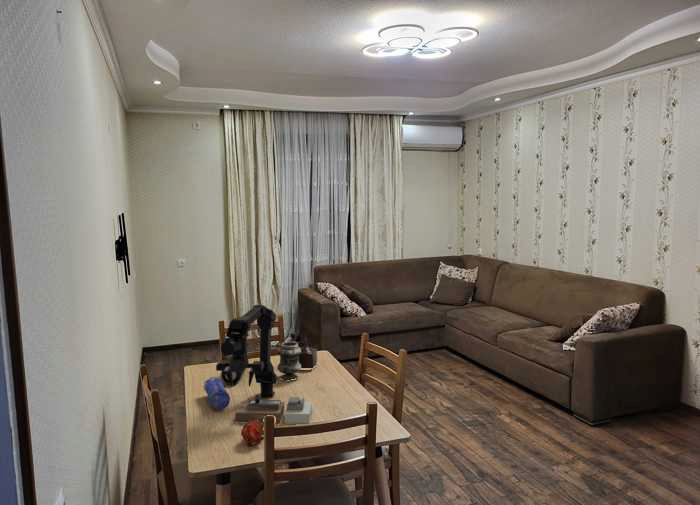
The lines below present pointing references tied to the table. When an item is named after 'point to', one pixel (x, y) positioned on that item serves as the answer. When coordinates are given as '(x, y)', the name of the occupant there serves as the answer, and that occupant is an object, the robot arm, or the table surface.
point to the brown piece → (306, 354)
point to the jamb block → (298, 411)
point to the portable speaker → (233, 374)
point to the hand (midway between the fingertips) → (240, 385)
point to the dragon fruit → (253, 432)
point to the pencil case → (216, 394)
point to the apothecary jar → (289, 360)
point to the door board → (259, 411)
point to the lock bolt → (258, 401)
